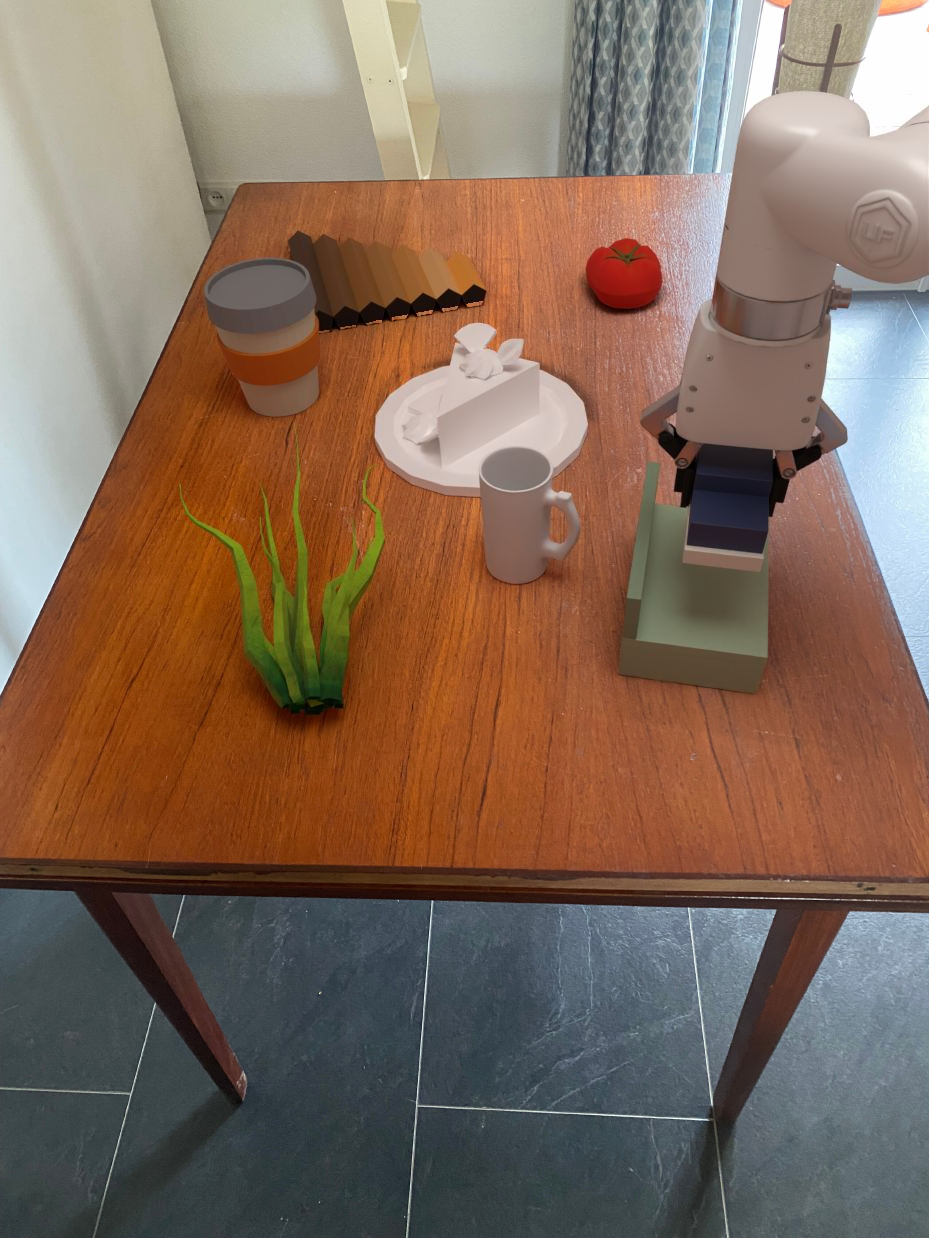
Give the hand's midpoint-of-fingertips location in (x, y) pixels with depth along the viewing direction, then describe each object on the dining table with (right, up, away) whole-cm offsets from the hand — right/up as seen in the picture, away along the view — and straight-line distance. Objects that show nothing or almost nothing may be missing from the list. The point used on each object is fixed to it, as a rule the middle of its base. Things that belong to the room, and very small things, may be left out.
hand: (726, 500), depth 75 cm
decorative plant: (-39, -9, +14) cm, 42 cm away
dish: (-20, +12, +32) cm, 39 cm away
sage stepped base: (0, -9, +10) cm, 14 cm away
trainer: (0, -1, +1) cm, 1 cm away
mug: (-15, -5, +15) cm, 22 cm away
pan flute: (-34, +40, +58) cm, 78 cm away
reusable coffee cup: (-45, +18, +39) cm, 62 cm away
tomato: (0, +35, +51) cm, 61 cm away
